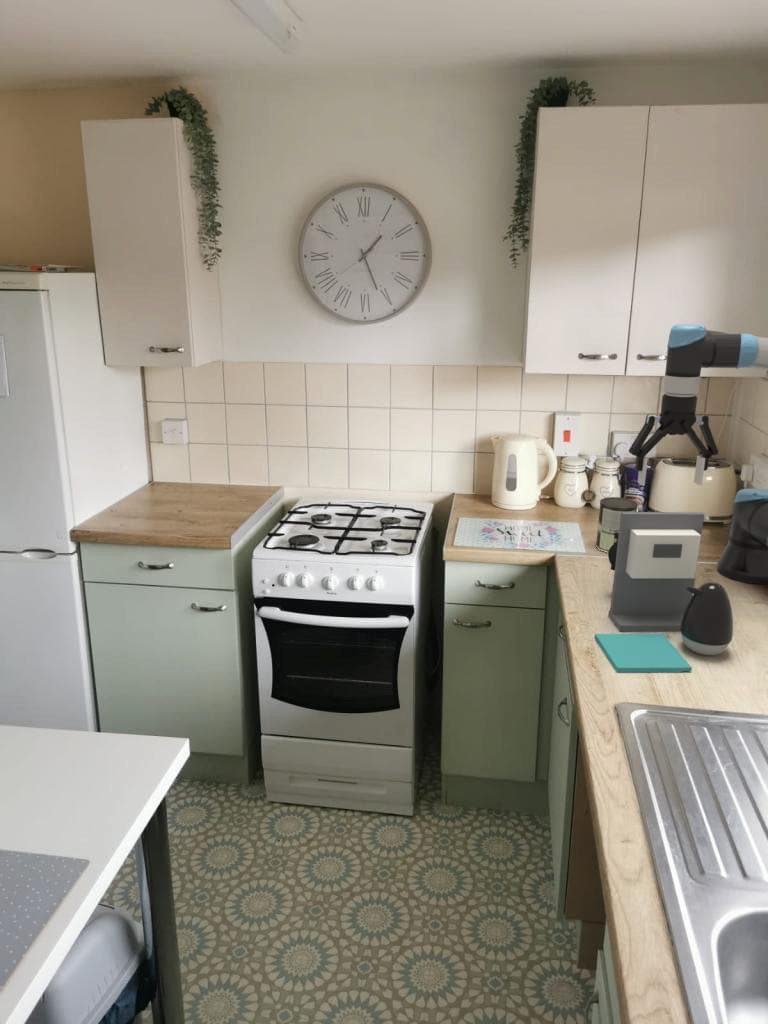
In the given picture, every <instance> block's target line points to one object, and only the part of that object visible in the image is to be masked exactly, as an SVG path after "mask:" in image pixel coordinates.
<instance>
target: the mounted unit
mask: <svg viewBox="0 0 768 1024" xmlns="http://www.w3.org/2000/svg"><path fill="white" fill-rule="evenodd" d="M704 519H705V514H704V513H703V512H700V511H699V512H698V511H697V512H696V511H695V512H694V511H693V512H692V511H690V512H688V511H686V512H685V511H684V512H683V511H682V512H679V511H675V512H674V511H673V512H672V511H667V512H666V511H660V512H659V511H642V512H641V511H636V512H621V518H620V527H619V536H618V545H617V554H616V563H615V571H614V574H613V583H612V592H611V600H610V608H609V610H608V615H607V616H608V618H609V620H610V621H611V622H612V623H613V624H614V626H615V627H616V629H617V630H618V632H621V633H622V632H626V633H627V632H628V633H629V632H630V633H631V632H633V633H636V632H638V633H639V632H640V633H641V632H643V633H644V632H645V633H646V632H649V633H650V632H654V633H655V632H658V633H660V632H662V633H664V632H667V633H668V632H669V633H670V632H672V633H673V632H674V633H675V632H676V633H677V632H680V626H681V622H682V619H683V615H684V613H685V610H686V608H687V605H688V603H689V602H690V600H691V598H692V596H693V595H694V594H693V593H691V592H689V591H687V589H686V588H687V586H691V587H694V588H695V583H696V582H695V581H696V574H697V569H698V560H699V555H700V554H699V553H700V547H701V541H702V534H703V529H704V528H703V527H704ZM680 633H681V632H680Z"/></svg>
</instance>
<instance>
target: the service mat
mask: <svg viewBox="0 0 768 1024" xmlns="http://www.w3.org/2000/svg"><path fill="white" fill-rule="evenodd" d="M594 639H595V640H596V642H597V644H598V645H599V647H600V648H601V650H602V652H603V653H604V654H605V656H606V658H607V660H608V661H609V662H610V664H611V665H612V668H614V670H615V671H616V673H678V672H677V671H691V672H692V669H693V667H692V665H690V663H689V662H688V661H687V660H686V659H685V657H684V656H683V655H682V654H681V653H680V652H679V650H678V649H677V648H676V647H675V646H674V644H673V643H672V642H671V641H670V640H669V639H668V638H667V636H666V635H665V634H664V633H594Z"/></svg>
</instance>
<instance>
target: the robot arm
mask: <svg viewBox="0 0 768 1024" xmlns="http://www.w3.org/2000/svg"><path fill="white" fill-rule="evenodd" d="M666 347H667V352H666V362H665V363H666V364H665V372H664V377H663V378H664V380H663V387H662V388H663V389H662V391H663V392H664V394H663V395H662V396H661V397H662V398H661V406H660V414H659V416H657V415H652V414H650V413H648V414H647V415H646V417H645V421H644V425H642V428H641V429H640V431H639V433H638V434H637V436H636V438H635V439H634V441H633V442H632V444H631V446H630V447H629V450H628V453H629V454H631V455H632V456H635V458H636V459H635V470H636V471H637V472H638V475H637V483H638V484H639V485H640V486H643V487H644V486H645V484H646V477H647V470H648V469H647V467H648V460H649V459H648V457H646V456H647V455H648V454H649V453H650V452H651V450H653V449H654V448H655V447H656V445H657V444H658V443H659V442H660V441H661V440H662V439H663V438H665V437H667V435H669V436H676V435H677V436H678V435H679V436H684V435H686V436H687V438H689V440H690V441H691V443H692V444H693V445H694V447H695V448H696V450H697V451H698V452H699V454H700V455H697V456H696V464H695V472H694V479H693V483H694V484H696V485H698V486H702V485H703V480H704V479H703V478H704V472H705V471H708V468H709V460H710V459H711V458H712V456H716V455H717V456H718V454H719V450H718V447H717V444H716V442H715V439H714V436H713V434H712V430H711V429H710V425H709V422H710V417H709V416H708V415H705V414H702V413H701V414H699V415H696V410H697V405H698V404H697V403H698V397H697V394H698V393H699V387H700V380H701V379H700V378H701V372H702V369H708V368H709V369H710V368H711V369H712V368H713V369H714V368H717V369H718V368H719V369H721V368H722V369H724V368H725V369H742V368H747V369H756V370H762V371H768V337H763V336H762V337H761V336H755V335H753V333H752V334H751V333H743V332H740V333H732V332H724V331H716V330H709V329H706V326H705V325H703V324H686V323H685V324H684V323H683V324H675V325H672V327H671V328H670V331H669V335H668V341H667V346H666ZM657 423H659V425H660V426H658V427H657V429H656V430H655V432H654V433H653V434H652V435H651V432H652V430H653V429H654V426H656V425H657ZM695 423H696V424H697V425H699V429H700V431H701V434H702V437H703V440H704V442H705V444H706V446H705V445H704V443H703V442H702V441H701V439H700V438H699V437H698V435H697V434H696V431H695V430H694V428H693V426H694V425H695ZM649 435H651V436H650V437H649ZM648 437H649V438H648ZM646 440H647V441H646ZM735 495H736V496H735V499H734V501H733V511H732V517H731V525H730V531H729V537H728V542H727V545H726V546H725V548H724V549H723V551H722V553H721V555H720V557H719V558H718V561H717V568H716V569H717V571H718V572H719V574H721V575H723V576H724V577H727V578H728V579H732V580H735V581H739V582H742V583H747V584H759V585H761V584H762V585H766V584H768V488H767V489H766V488H742V489H739V491H737V492H736V494H735Z"/></svg>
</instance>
